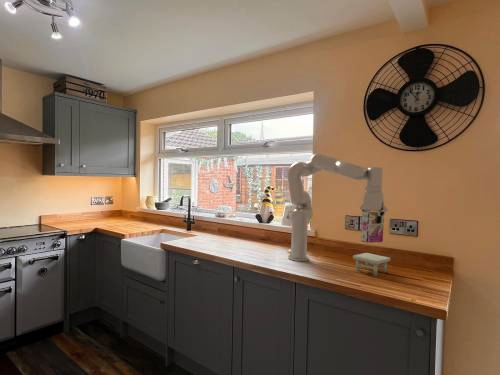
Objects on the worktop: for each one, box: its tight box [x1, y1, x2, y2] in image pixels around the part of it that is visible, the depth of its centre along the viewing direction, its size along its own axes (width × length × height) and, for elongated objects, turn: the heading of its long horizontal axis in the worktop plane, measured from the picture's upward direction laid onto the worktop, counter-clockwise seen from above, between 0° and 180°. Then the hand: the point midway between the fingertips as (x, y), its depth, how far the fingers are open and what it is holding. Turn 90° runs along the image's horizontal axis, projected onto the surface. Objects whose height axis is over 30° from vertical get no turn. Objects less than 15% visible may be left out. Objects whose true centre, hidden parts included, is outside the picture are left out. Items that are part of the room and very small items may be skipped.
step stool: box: [352, 252, 391, 277], centre depth 162 cm, size 14×14×8 cm
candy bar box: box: [360, 211, 385, 244], centre depth 162 cm, size 11×5×16 cm, turn 111°
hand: (372, 222), depth 162 cm, fingers closed on candy bar box, 6 cm apart
